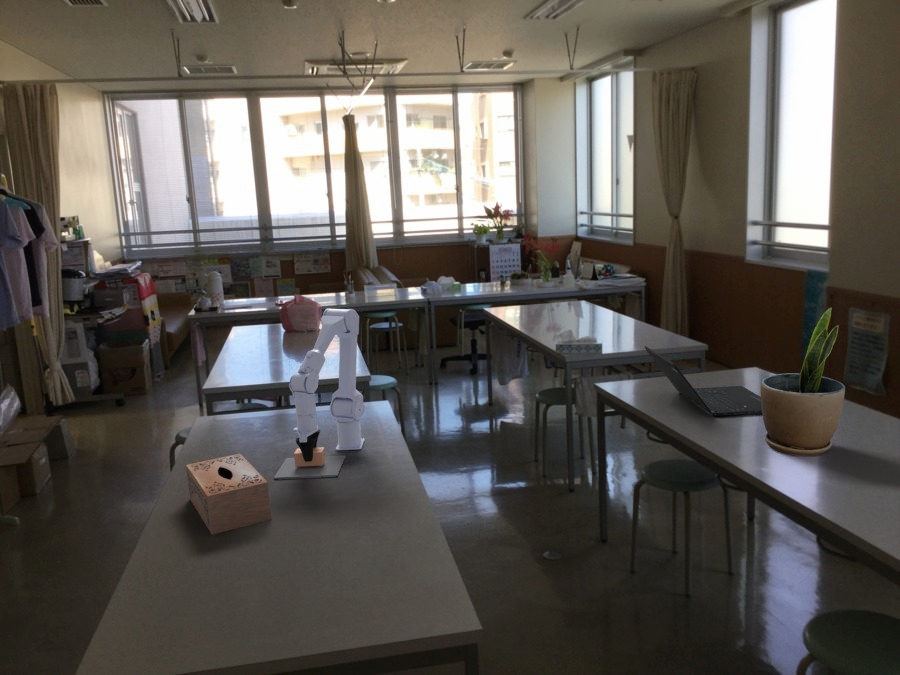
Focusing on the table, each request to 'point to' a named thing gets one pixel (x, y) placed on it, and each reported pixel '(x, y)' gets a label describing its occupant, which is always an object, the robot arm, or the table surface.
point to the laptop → (711, 392)
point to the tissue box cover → (228, 493)
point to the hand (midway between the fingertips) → (310, 458)
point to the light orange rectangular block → (316, 461)
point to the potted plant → (804, 400)
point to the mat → (310, 469)
